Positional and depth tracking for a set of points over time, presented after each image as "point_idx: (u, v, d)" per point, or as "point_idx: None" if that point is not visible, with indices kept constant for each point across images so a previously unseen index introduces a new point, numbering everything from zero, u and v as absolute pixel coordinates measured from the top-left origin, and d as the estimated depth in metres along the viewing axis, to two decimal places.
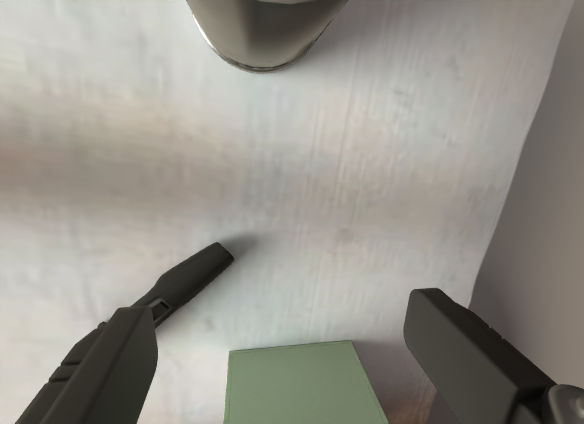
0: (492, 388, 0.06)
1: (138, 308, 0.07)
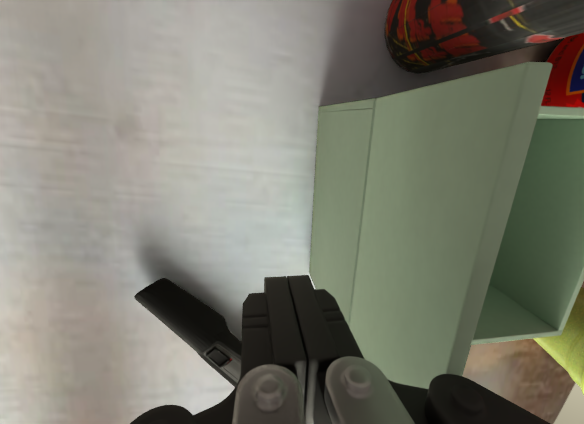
0: None
1: (281, 277, 0.09)
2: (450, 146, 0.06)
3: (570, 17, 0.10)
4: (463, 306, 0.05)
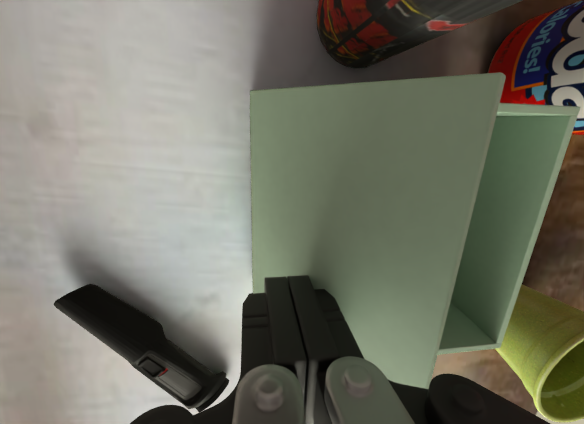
0: None
1: (281, 277, 0.09)
2: (406, 143, 0.06)
3: None
4: (449, 280, 0.06)
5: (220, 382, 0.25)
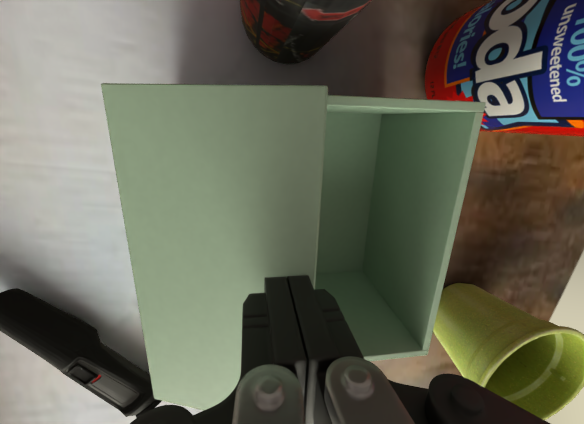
0: None
1: (281, 277, 0.09)
2: (273, 134, 0.08)
3: None
4: (316, 229, 0.09)
5: None
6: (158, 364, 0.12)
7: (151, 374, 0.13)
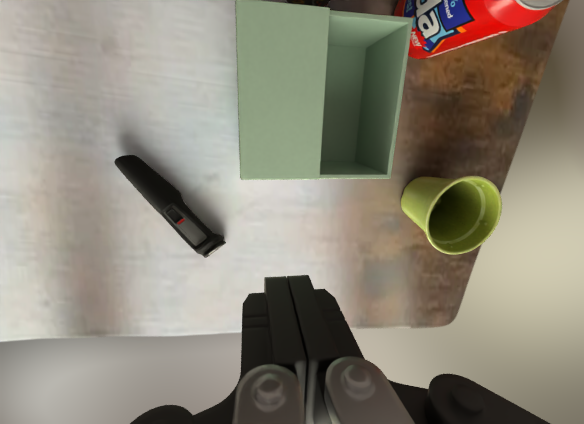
0: None
1: (281, 277, 0.09)
2: (310, 25, 0.22)
3: None
4: (325, 68, 0.23)
5: (219, 238, 0.36)
6: (246, 154, 0.24)
7: (241, 162, 0.24)
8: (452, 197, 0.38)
